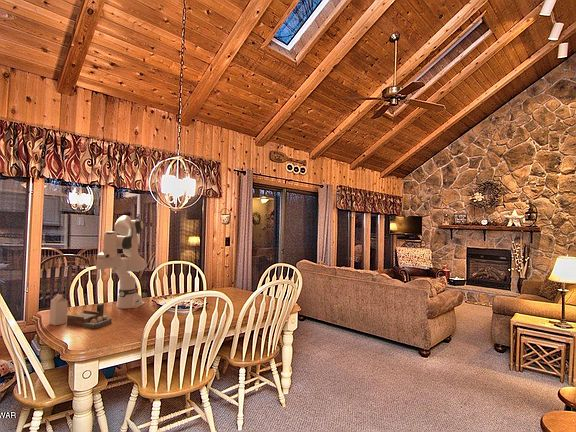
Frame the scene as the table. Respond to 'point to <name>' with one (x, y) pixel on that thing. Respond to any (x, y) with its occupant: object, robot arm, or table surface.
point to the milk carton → (58, 310)
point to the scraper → (101, 310)
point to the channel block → (82, 318)
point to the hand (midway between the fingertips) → (108, 274)
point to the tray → (97, 324)
